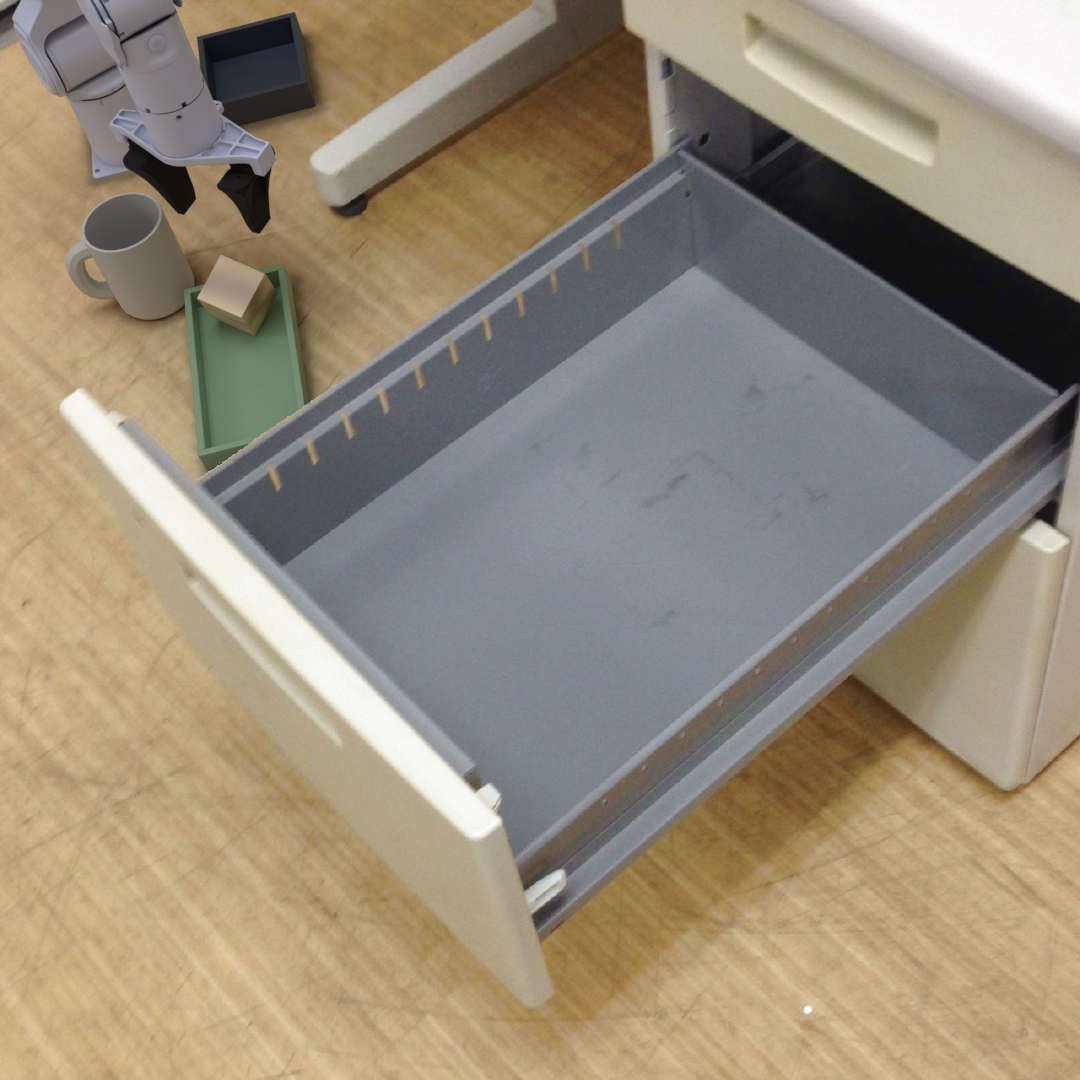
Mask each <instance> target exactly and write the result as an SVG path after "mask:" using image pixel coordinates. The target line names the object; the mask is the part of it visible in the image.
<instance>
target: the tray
mask: <svg viewBox="0 0 1080 1080" xmlns="http://www.w3.org/2000/svg"><path fill="white" fill-rule="evenodd" d="M257 270H258V269H257ZM258 271H260V272H263V273H265V274H266V276H267V277H268V279H269V281H270V282H271V284H272V285H273V287H274V288H275V290H276V291H277V293H278V294H277V296H276V298H275V300H274V302H273V303H272V305H271V307H270V309H269V311H268V313H267V315H266V316H265V318H264V320H263V322H262V324H261V326H260V328H259V330H258V331H257V333H256V335H255V336H253V335H251V334H249V333H246V332H244V331H242V330H240V329H237V328H235V327H233V326H231V325H228V324H226V323H224V322H222V321H219V320H217V319H215V318H213V317H212V316H211V315H210V314H209V313H208V311H207V310H206V309H205V308H204V307H203V305H202V304H201V303H200V302H199V300H198V299H197V297H198V295H199V293H200V292H201V290H202V288H203V286H204V284H205V283H204V284H199V285H195V286H194V287H192V288H188V289H184V301H185V304H184V310H185V312H184V313H185V321H186V322H185V323H186V333H187V341H188V342H187V344H188V355H189V365H190V375H191V387H192V398H193V408H194V419H195V430H196V442H197V451H198V457H199V459H200V461H201V463H202V465H203V466H204V468H205V470H206V472H207V473H208V471H210V470H212V469H214V468H215V467H216V466H217V465H220V464H222V462H223V461H225V460H227V459H228V458H229V457H231V456H232V455H233V454H236V453H237V452H238V450H240V449H243V448H244V447H245V446H247V445H248V444H249V443H251V442H252V441H253V440H254V439H255V438H258V437H259V436H260V435H261V434H262V433H264V432H266V431H268V430H269V429H270V428H271V427H274V426H276V424H277V423H279V422H281V421H282V420H284V419H285V418H287V416H291V415H292V414H293V413H295V412H296V411H297V410H299V409H301V408H302V407H303V406H304V405H306V404H308V403H309V404H310V398H309V392H308V385H307V377H306V371H305V365H304V358H303V351H302V346H301V345H302V343H301V337H300V331H299V325H298V324H299V323H298V318H297V317H298V316H297V310H296V305H295V304H296V303H295V298H294V297H295V296H294V290H293V284H292V281H291V278H290V276H289V274H288V271H287V268H286V266H285V264H283V263H282V264H279V265H274V266H271V267H266V268H263V269H259V270H258ZM219 462H220V463H219Z"/></svg>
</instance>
